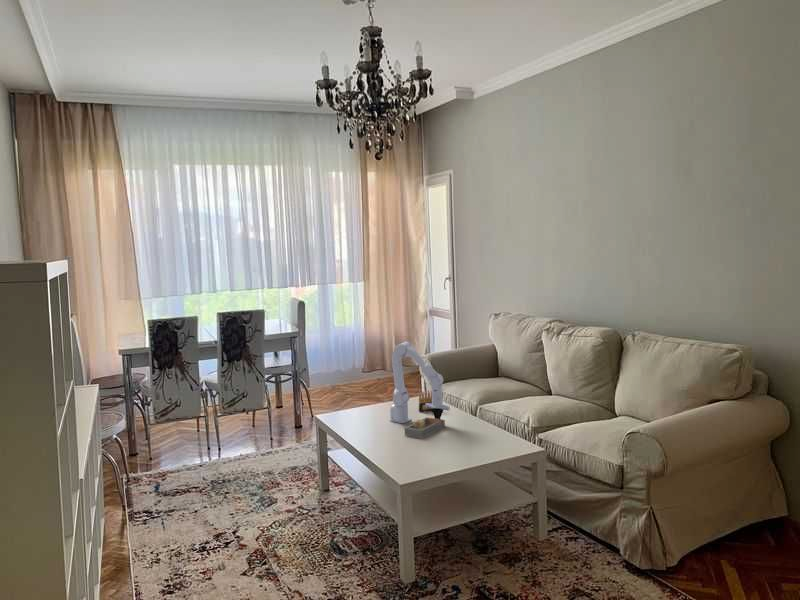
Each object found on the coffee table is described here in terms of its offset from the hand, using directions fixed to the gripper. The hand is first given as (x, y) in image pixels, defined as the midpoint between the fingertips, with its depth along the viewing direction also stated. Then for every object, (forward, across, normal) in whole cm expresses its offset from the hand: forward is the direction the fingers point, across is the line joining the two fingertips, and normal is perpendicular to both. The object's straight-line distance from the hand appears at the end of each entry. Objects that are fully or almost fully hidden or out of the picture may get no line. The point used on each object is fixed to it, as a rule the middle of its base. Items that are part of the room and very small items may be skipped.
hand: (437, 421), depth 334 cm
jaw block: (+1, 0, -18) cm, 18 cm away
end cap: (+1, 0, -3) cm, 3 cm away
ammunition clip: (+2, -19, +20) cm, 28 cm away
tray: (+1, 0, -14) cm, 14 cm away
